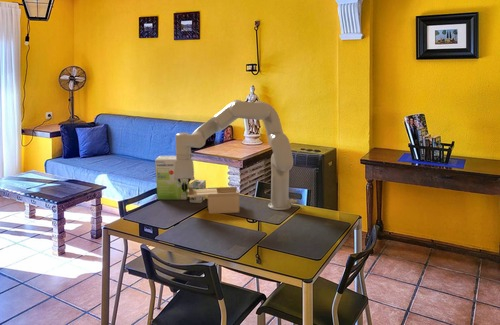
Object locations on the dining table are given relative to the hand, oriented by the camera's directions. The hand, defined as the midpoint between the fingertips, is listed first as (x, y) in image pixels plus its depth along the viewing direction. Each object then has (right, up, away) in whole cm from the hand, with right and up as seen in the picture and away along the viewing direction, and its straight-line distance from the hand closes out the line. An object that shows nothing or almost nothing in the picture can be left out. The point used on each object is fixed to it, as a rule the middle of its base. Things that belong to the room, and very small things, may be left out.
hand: (184, 190), depth 218 cm
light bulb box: (+4, -7, +21) cm, 22 cm away
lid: (+9, -2, +2) cm, 9 cm away
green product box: (-10, -6, +26) cm, 28 cm away
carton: (+20, -10, +5) cm, 23 cm away
